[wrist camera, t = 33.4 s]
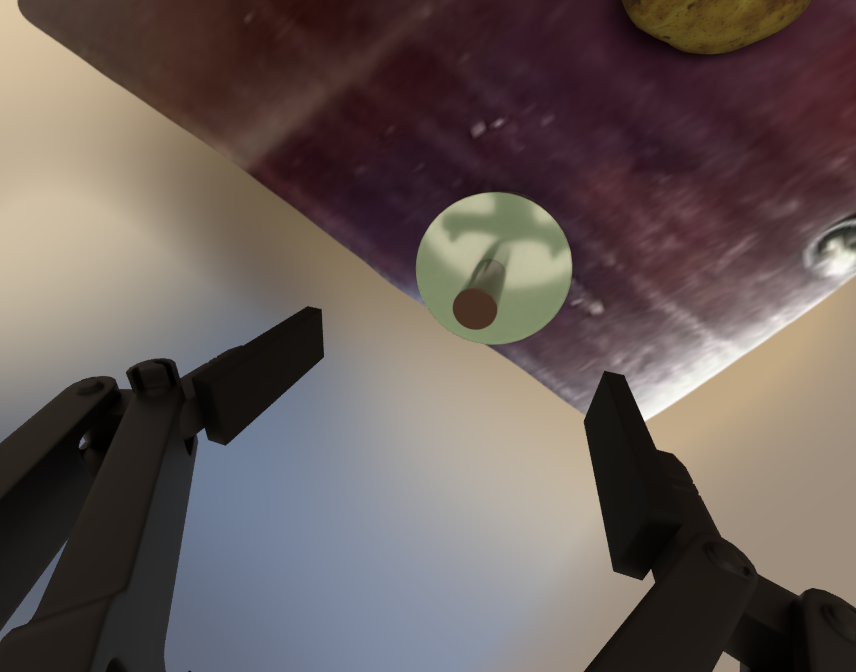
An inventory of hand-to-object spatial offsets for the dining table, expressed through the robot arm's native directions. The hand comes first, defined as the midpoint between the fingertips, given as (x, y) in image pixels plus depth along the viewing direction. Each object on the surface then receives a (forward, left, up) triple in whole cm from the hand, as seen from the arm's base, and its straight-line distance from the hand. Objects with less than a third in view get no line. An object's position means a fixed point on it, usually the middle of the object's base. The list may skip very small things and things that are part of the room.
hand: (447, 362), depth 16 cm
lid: (0, 0, -17) cm, 17 cm away
